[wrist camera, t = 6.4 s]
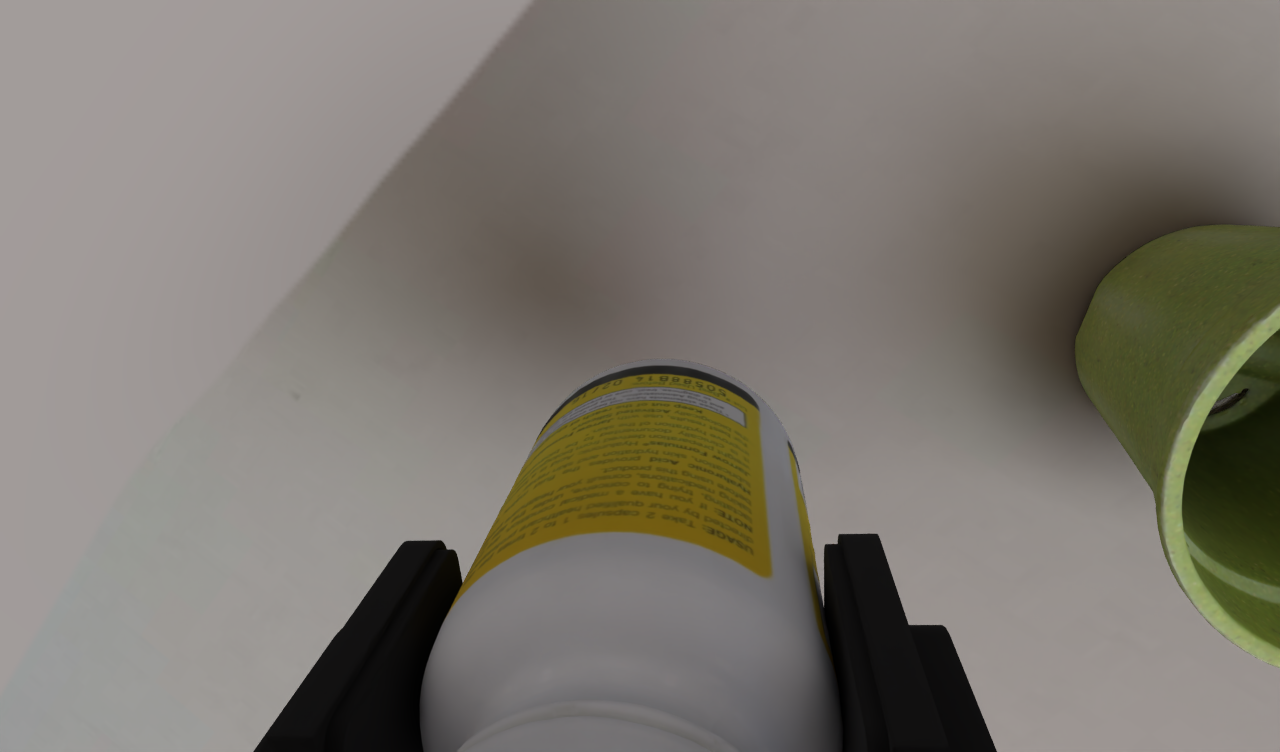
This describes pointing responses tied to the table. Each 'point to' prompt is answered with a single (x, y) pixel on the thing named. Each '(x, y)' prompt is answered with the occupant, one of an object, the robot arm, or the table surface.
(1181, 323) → the plant pot
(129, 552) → the table surface
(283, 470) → the table surface
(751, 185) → the table surface
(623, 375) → the supplement bottle
